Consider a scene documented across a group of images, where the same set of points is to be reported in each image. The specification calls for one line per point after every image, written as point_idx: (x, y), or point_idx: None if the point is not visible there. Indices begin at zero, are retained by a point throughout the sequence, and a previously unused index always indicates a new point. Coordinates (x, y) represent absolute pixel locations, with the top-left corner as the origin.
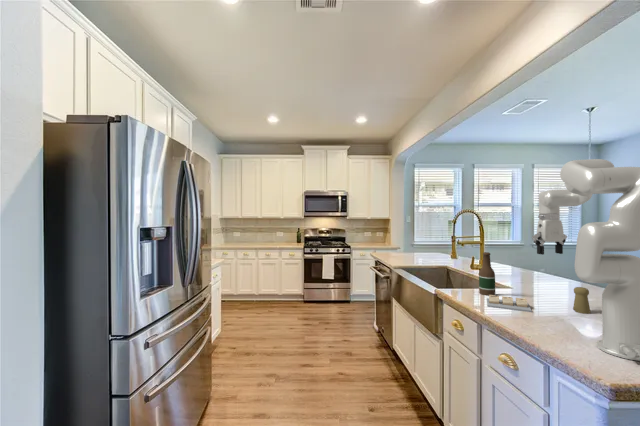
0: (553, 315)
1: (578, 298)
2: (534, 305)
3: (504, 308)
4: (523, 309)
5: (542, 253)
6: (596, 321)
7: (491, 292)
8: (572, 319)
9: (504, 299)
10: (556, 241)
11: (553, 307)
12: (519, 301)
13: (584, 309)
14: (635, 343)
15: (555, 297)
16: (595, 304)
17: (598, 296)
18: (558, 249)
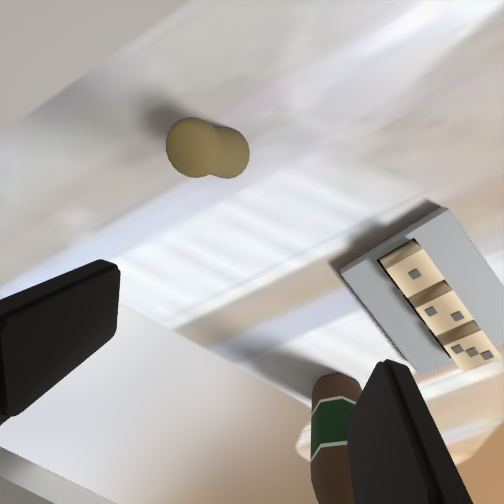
0: (366, 170)
1: (227, 150)
2: (300, 264)
3: (499, 281)
4: (461, 232)
5: (406, 379)
6: (298, 61)
7: (351, 392)
8: (354, 111)
9: (468, 312)
10: (33, 475)
11: (264, 223)
12: (436, 269)
13: (235, 134)
14: None
15: (147, 277)
16: (108, 180)
17: (25, 222)
18: (76, 326)
